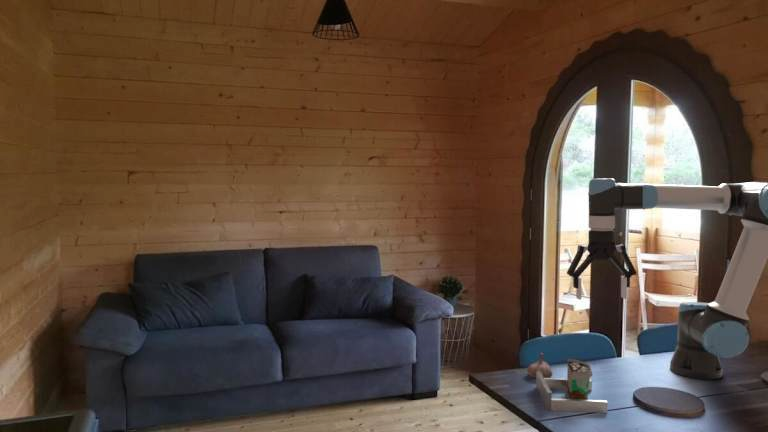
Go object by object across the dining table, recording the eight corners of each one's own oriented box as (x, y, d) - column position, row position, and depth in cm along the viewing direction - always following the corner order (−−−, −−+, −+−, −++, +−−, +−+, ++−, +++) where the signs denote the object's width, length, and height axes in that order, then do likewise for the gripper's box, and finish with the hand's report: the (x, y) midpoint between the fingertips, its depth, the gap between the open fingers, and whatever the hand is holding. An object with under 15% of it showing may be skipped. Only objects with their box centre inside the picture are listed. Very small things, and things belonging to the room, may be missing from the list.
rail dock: (590, 389, 179) (591, 373, 179) (607, 412, 162) (607, 395, 162) (536, 387, 181) (536, 371, 180) (546, 410, 164) (547, 392, 163)
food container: (594, 409, 165) (595, 373, 164) (571, 407, 166) (572, 372, 165) (588, 392, 177) (589, 359, 176) (566, 391, 178) (567, 358, 177)
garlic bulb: (556, 378, 188) (557, 354, 188) (540, 382, 185) (540, 357, 184) (539, 371, 195) (540, 347, 194) (522, 375, 191) (523, 351, 191)
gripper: (638, 227, 184) (638, 294, 186) (557, 228, 185) (557, 296, 187) (648, 229, 176) (647, 300, 178) (563, 231, 177) (563, 301, 179)
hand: (601, 298), depth 182 cm, fingers open, 13 cm apart
